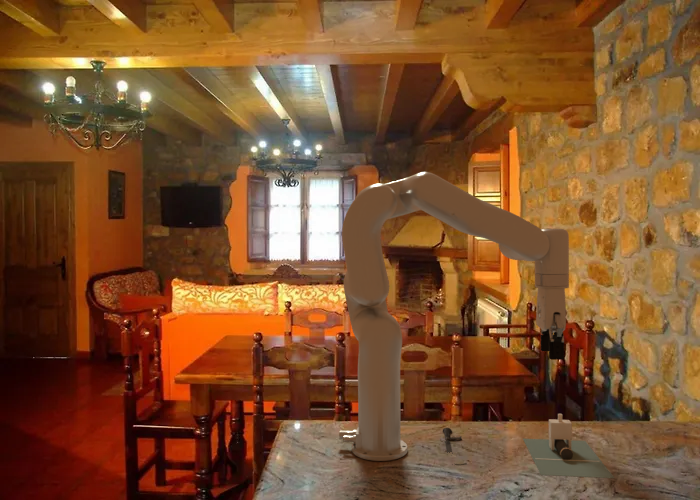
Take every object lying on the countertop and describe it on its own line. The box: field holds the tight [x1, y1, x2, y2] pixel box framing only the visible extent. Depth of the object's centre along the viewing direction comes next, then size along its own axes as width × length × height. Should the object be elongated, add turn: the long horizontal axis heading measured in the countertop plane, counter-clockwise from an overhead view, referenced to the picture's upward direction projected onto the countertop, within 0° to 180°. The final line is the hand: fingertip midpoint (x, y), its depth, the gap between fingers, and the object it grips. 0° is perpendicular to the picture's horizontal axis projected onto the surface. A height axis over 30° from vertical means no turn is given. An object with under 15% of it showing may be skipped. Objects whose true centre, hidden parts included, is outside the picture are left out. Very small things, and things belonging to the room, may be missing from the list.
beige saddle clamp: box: [548, 413, 573, 450], centre depth 124 cm, size 4×2×8 cm, turn 83°
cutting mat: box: [522, 438, 615, 479], centre depth 121 cm, size 14×20×1 cm
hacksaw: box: [442, 427, 468, 467], centre depth 127 cm, size 24×10×2 cm, turn 174°
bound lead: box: [554, 439, 573, 460], centre depth 123 cm, size 2×10×2 cm, turn 173°
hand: (551, 354), depth 132 cm, fingers open, 8 cm apart
